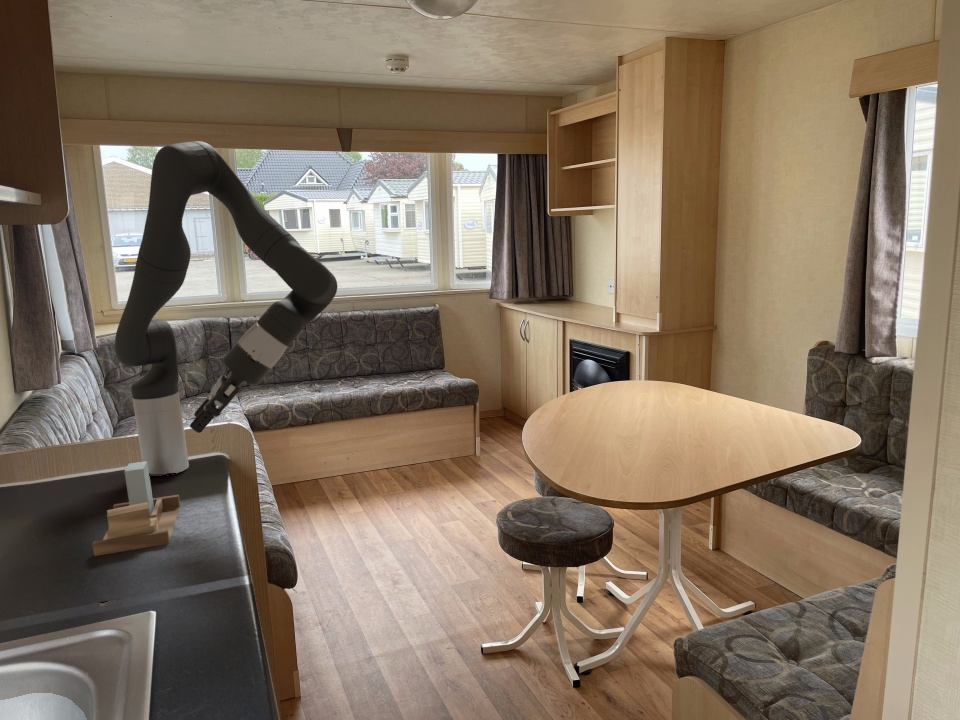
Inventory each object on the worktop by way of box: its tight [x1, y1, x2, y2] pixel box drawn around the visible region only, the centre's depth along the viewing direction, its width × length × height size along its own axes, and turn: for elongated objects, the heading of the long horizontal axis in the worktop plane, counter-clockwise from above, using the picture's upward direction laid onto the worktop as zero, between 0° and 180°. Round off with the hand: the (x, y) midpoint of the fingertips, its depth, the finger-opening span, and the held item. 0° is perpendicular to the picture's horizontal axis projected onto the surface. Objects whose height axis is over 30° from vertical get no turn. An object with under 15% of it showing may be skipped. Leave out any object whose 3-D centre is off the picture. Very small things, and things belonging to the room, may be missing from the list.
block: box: [124, 461, 154, 518], centre depth 126 cm, size 4×3×10 cm, turn 17°
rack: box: [91, 494, 181, 557], centre depth 123 cm, size 18×11×3 cm, turn 17°
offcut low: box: [106, 517, 159, 539], centre depth 117 cm, size 4×7×3 cm, turn 107°
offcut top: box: [106, 502, 151, 533], centre depth 116 cm, size 3×6×3 cm, turn 117°
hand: (196, 423), depth 127 cm, fingers open, 8 cm apart
